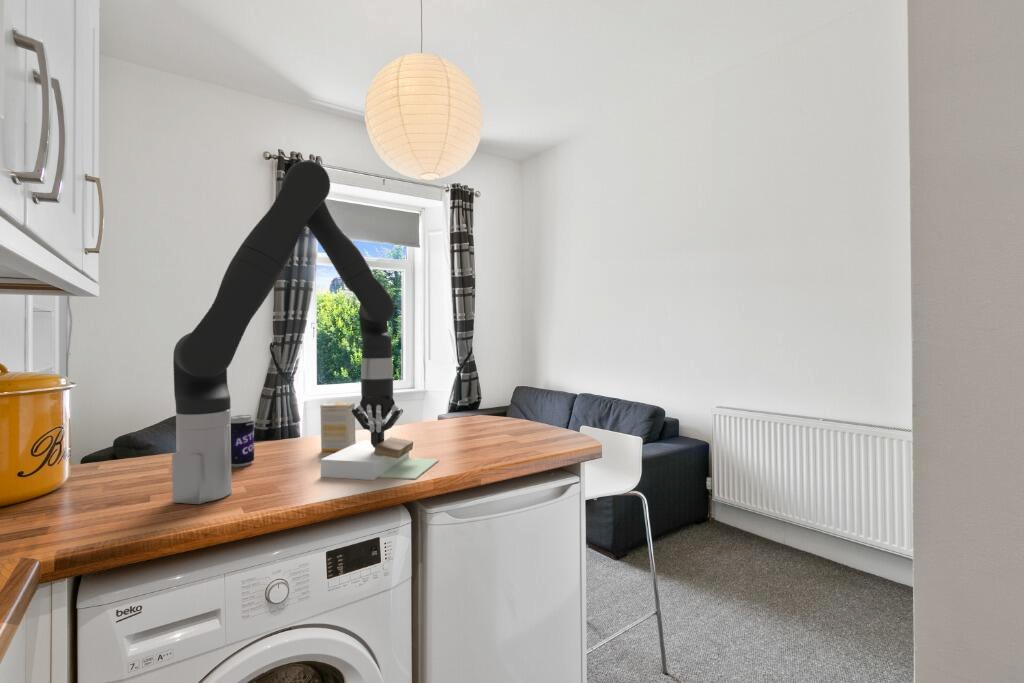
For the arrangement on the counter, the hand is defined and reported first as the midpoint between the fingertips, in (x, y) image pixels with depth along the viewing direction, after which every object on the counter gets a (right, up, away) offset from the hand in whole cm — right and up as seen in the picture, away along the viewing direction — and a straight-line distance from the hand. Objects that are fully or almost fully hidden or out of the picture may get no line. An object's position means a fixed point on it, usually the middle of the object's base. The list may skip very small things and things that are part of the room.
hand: (377, 446), depth 118 cm
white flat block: (-3, -5, 0) cm, 6 cm away
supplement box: (-16, -5, +17) cm, 24 cm away
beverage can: (-35, -5, +2) cm, 35 cm away
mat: (+8, -5, -2) cm, 10 cm away
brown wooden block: (+4, -1, -1) cm, 4 cm away
